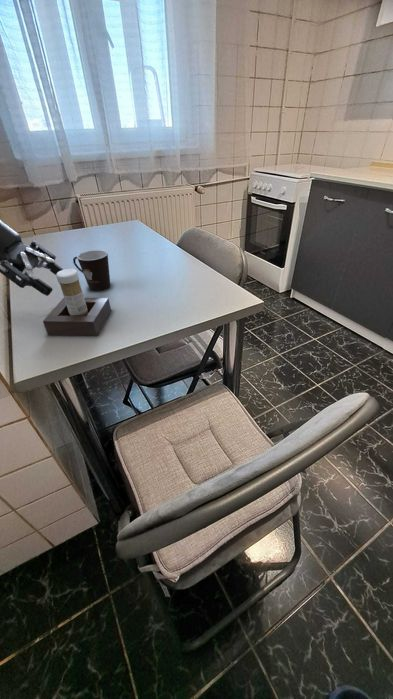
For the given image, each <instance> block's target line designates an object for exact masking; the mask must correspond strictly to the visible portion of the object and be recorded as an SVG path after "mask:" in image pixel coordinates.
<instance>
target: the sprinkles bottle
mask: <svg viewBox="0 0 393 699" xmlns="http://www.w3.org/2000/svg"><path fill="white" fill-rule="evenodd" d="M55 276H56V279H57V282H58V284H59V285H60V288H61V292H62V297H63V298H64V299H65V302H66V305H67V308H68V311H69V313H70V316H87V315H88V310H87V306H86V303H85V299H84V298H85V296H84V292H83V289H82V287H81V283H80V277H79V274H78V271H77V269H75V268H64V270H61V271H59V272H58V273H57V274H56V275H55Z"/></svg>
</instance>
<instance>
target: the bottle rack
mask: <svg viewBox="0 0 393 699" xmlns="http://www.w3.org/2000/svg"><path fill="white" fill-rule="evenodd" d="M84 299H85V303H86V306H87V310H88V315H87V316H70V313H69V311H68V308H67V305H66V302H65V299H64V297H62V299H61V300H60V301H59V302H58V303H57V304H56V306H55V307H54V308H53V309H52V310H51V311H50V312H49V313H48V315H46V317H45V318H44V319H43V320H42V323H43V326H44V329H45V331H46V333H47V336H52V337H53V336H55V337H57V336H60V337H62V336H63V337H65V336H66V337H98V336H99V334H100V332H101V331H102V328H103V326H104V325H105V324H106V322H107V319H108V318H109V316H110V314H111V313H112V306H111V303H110V298H109V297H84Z"/></svg>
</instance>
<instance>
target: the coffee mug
mask: <svg viewBox="0 0 393 699" xmlns="http://www.w3.org/2000/svg"><path fill="white" fill-rule="evenodd" d="M76 260H77V261H78V263H79V265H80V267H79V265H78V264H77V262H76ZM72 261H73V262H72V263H73V265H74V266H75V267H76V269H77V270H78V271H79V272H80V273H82V274H83V276H84V278H85V281H86V283H87V286H88V288H89V290H90V291H92V292H103V291H107V290H108V289H110V288H111V274H110V265H109V264H110V263H109V254H108V252H107V251H106V250H102V249H94V250H86V251H83V252H81V253H78V254H77V256H74V257H73V258H72Z"/></svg>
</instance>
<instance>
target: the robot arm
mask: <svg viewBox="0 0 393 699" xmlns="http://www.w3.org/2000/svg"><path fill="white" fill-rule="evenodd" d="M56 258H57V256H56V255H55V254H53V253H52V252H51V251H49V250H48V249H47V248H45V247H44V246H43V245H41V244H40V243H38V242H37V241H36V240H32V241H31V242H30V244H29V245H28V244H26V243H24V242H23V241H22V236H21V235H20V234H19V233H18V232H16V231H15V230H14V229H13V228H12V227H10V226H9V225H8V224H6V223H5V222H3V220H1V219H0V274H1V275H3V276H4V277H6V278H7V279H8V280H9V281H11V282H13V284H15V285H16V286H18V288H21V289H24V288H26V287H32V288H33V289H35V290H36V291H38V292H39V293H41V294H42V295H44V296H46V297H48V296H50V295H51V293H52V292H53V290H54V289H53V287H51V286H50V285H49V284H48V283H46V282H44V281H43V280H42V279H41V278H39V277H36V275H35V272H34V271H33V270H34V269H36V268H37V269H41V268H43V269H46V270H49V272H51V273H52V274H53V275H54V276H56V274H57V273H58V272H59V271H61V270H65V268H62V266H60V265H58V264H57V263H56Z"/></svg>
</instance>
